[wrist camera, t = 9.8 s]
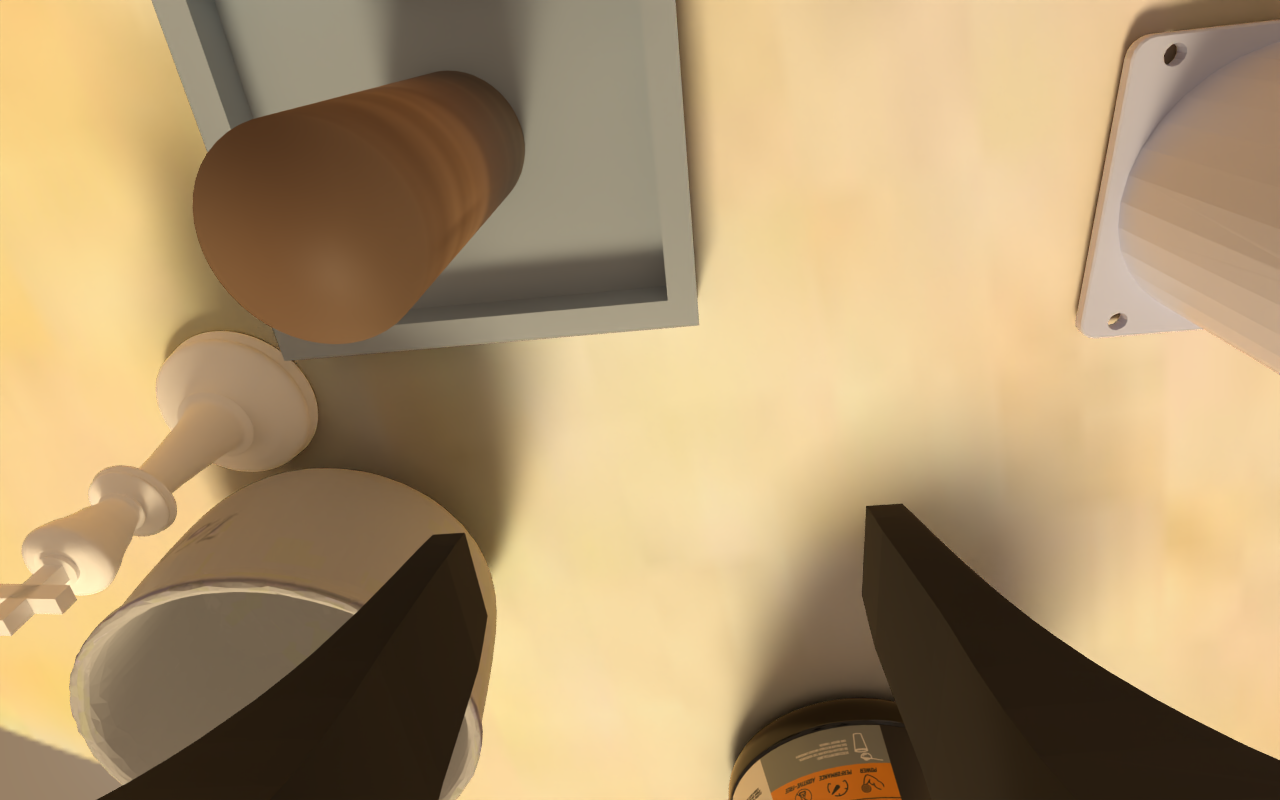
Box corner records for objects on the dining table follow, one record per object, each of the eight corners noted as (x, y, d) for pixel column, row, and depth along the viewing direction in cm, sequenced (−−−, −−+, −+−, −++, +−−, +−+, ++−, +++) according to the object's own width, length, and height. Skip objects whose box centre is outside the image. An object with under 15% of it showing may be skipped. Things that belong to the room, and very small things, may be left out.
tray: (667, -100, 17) (667, -111, 16) (696, 302, 22) (699, 325, 20) (183, -35, 18) (137, -40, 16) (311, 336, 23) (284, 360, 21)
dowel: (518, 69, 18) (407, 111, 10) (530, 212, 20) (442, 344, 12) (377, 71, 19) (160, 115, 11) (400, 214, 20) (229, 344, 12)
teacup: (241, 382, 24) (61, 540, 17) (561, 481, 25) (520, 666, 18) (210, 665, 30) (70, 867, 23) (467, 731, 31) (409, 941, 24)
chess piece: (144, 329, 23) (-182, 532, 14) (299, 330, 23) (67, 534, 14) (191, 462, 25) (-63, 706, 16) (333, 463, 25) (152, 711, 16)
